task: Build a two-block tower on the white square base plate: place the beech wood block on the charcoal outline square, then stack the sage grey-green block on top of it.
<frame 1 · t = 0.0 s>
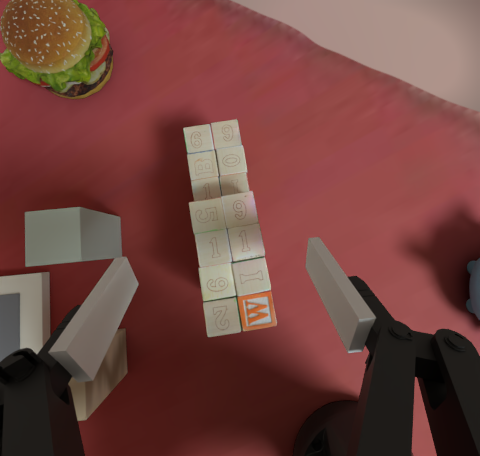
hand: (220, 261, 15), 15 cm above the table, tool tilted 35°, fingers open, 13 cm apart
food: (76, 67, 34), on the table
sage block: (100, 239, 31), on the table
beech block: (105, 352, 29), on the table
stack of blocks: (229, 226, 31), on the table
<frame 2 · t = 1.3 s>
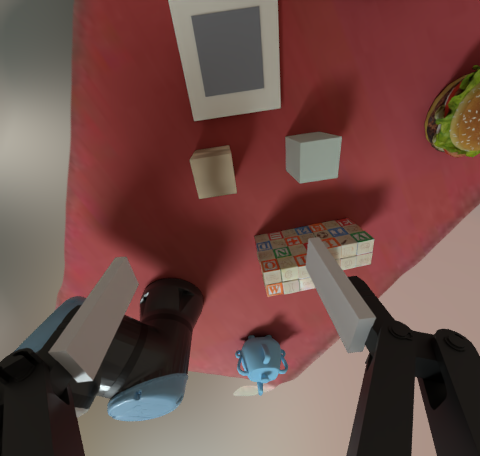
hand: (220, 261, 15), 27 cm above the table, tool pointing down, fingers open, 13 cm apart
teapot: (258, 343, 67), on the table
food: (457, 110, 37), on the table
sage block: (301, 151, 38), on the table
beech block: (215, 164, 38), on the table
stack of blocks: (300, 237, 48), on the table
white square base plate: (230, 57, 31), on the table
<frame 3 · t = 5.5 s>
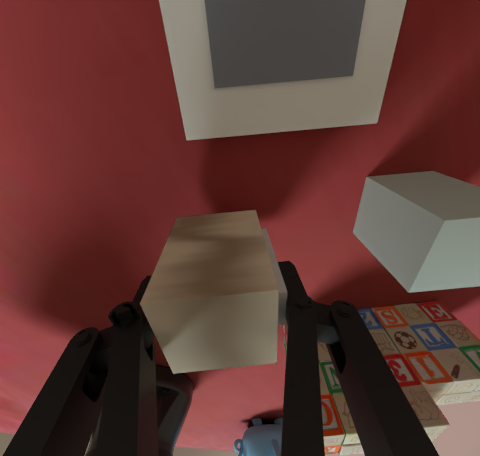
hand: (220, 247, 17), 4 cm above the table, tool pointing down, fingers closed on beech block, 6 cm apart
teapot: (264, 424, 50), on the table
sage block: (389, 204, 20), on the table
beech block: (221, 245, 17), point 4 cm above the table, touching gripper
stack of blocks: (354, 320, 31), on the table
when the fingers open (3 cm above the table, at t = 10.6 s): beech block drops 2 cm, resting on white square base plate.
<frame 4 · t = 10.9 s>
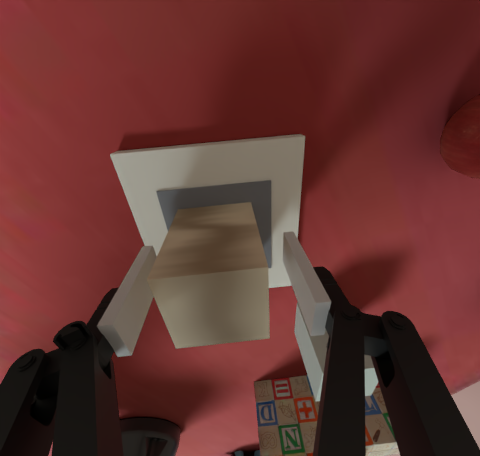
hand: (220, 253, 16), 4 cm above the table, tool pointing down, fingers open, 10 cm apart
teapot: (246, 454, 57), on the table
sage block: (318, 315, 28), on the table
beech block: (219, 236, 19), point 1 cm above the table, touching white square base plate
stack of blocks: (313, 380, 38), on the table
onion: (447, 126, 17), on the table
white square base plate: (221, 226, 20), on the table
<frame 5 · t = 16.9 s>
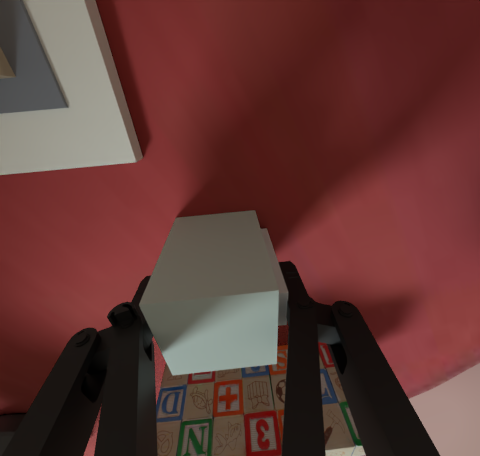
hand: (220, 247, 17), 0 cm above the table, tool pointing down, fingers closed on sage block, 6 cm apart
sage block: (220, 246, 17), on the table, touching gripper
stack of blocks: (254, 359, 27), on the table
when the fingers open (11 cm above the table, at t = 22.1 s): sage block drops 2 cm, resting on beech block.
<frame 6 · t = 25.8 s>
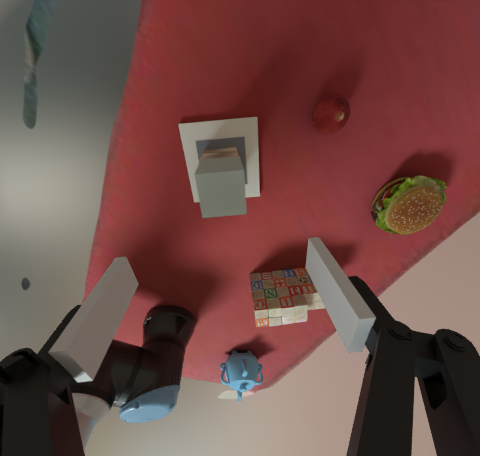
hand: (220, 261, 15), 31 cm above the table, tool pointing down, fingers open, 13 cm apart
teapot: (240, 357, 79), on the table
food: (395, 198, 49), on the table
sage block: (222, 176, 34), point 9 cm above the table, touching beech block
beech block: (222, 164, 41), point 1 cm above the table, touching white square base plate, sage block
stack of blocks: (287, 276, 59), on the table
onion: (321, 113, 39), on the table
white square base plate: (223, 162, 42), on the table
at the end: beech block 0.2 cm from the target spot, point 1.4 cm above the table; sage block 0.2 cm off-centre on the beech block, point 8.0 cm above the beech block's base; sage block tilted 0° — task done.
